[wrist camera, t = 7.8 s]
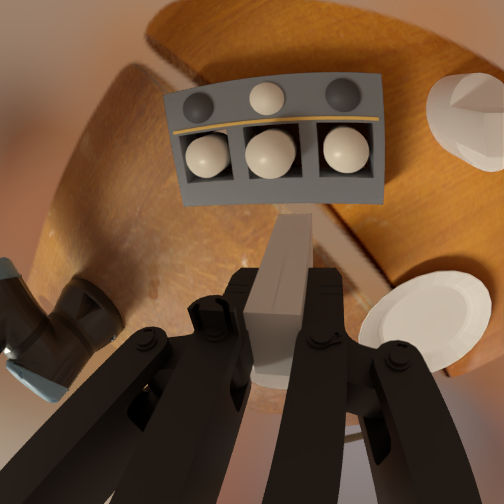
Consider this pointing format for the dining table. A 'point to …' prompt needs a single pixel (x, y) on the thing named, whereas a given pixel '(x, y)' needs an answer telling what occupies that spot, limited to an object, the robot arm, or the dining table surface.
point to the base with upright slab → (469, 118)
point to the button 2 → (271, 153)
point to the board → (280, 112)
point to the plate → (431, 316)
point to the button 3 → (345, 149)
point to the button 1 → (208, 155)
